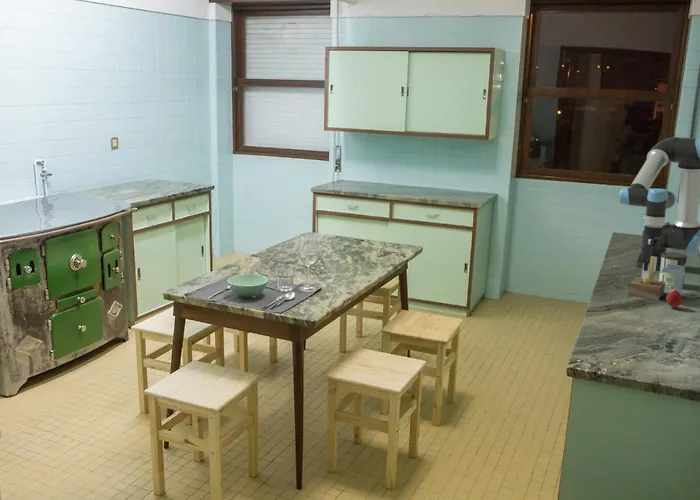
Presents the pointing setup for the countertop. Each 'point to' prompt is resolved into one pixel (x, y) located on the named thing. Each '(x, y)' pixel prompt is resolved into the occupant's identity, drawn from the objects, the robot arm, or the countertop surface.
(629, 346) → the countertop surface
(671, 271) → the light blue box
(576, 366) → the countertop surface
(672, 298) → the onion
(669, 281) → the coffee can
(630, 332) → the countertop surface
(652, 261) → the peg
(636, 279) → the socket block
